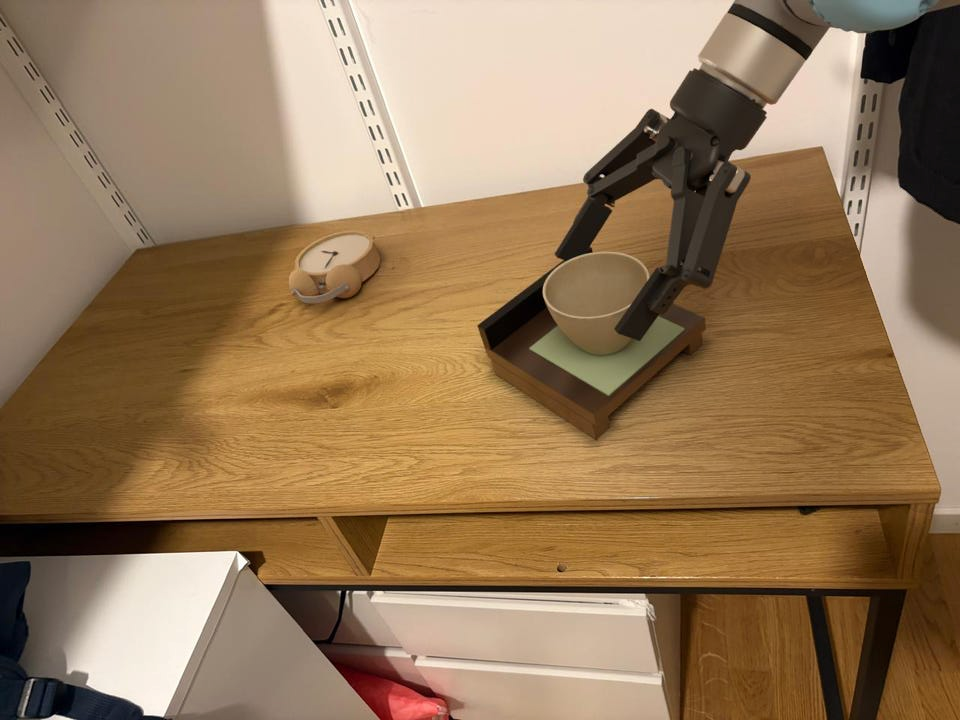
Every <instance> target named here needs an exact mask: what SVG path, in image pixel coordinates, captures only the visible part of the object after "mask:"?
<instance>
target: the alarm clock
mask: <svg viewBox="0 0 960 720" xmlns="http://www.w3.org/2000/svg"><path fill="white" fill-rule="evenodd" d="M375 239H376V236H375V235H371V234H370V233H368V232H367V231H364V230H359V229H356V230H355V229H354V230H353V229H352V230H343V231H337V232H334V233H331V234H328V235H325V236H323V237H321V238H319V239H317V240H315V241H312V242H311V243H310V244H308V245H307V246H306V247H304V248H302V250H301V252H299V254H298V255H297V256H296V258H295V261H294V270H293V271H292V272H291V273H290V275H289V278H288V283H289V284H288V285H289V288H290V290H291V291H290V294H291V296H296V297H297V298H298V299H299V300H300V301H301V302H302V303H304V304H311V305H312V304H320V303H324V302H327V301H330V300H333V299H334V298H336V297H337V298H339V299H349V298H351V297H353V296H355V295H356V294H357V293H358V292H359V291H360V289H361V288H362V283H363V282H365V281H366V280H367V279H369V278H370V277H371V276H372V275H374V274H375V272H376V271H377V270H378V268H379V267H380V264H381V263H380V262H381V257H380V255H379V252H378V250H377V248H376V245H375V241H374V240H375Z"/></svg>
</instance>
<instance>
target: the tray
mask: <svg viewBox="0 0 960 720" xmlns="http://www.w3.org/2000/svg"><path fill="white" fill-rule="evenodd" d="M588 253H594V252H593V248H592V247H591V246H590V247H589V248H588V250H587V252H586V253H585V254H588ZM564 262H566V261H565V260H561V262H559V263H558V264H556V265H555V266H554V267H553V268H551V269H550V270H549V271H547V272H545V274H543V275H542V276H540V277H539V278H538V279H537V280H535V281H534V282H532V283H531V284H530V285H529V286H527V287H526V288H524V290H522V291H521V292H520V293H518V294H516V296H514V297H512V298H511V299H509V301H507V302H506V303H504V305H502V306H501V307H499V308H498V309H497V310H495V311H494V312H493V313H492V314H490V315H489V316H488V317H486V318H485V319H484V320H482V321H481V322H480V323H479V324H476V325H477V329H478V332H479V335H480V338H481V341H482V344H483V347H484V350H485V353H486V356H487V358H489V359H490V361H491V364H492V368H493V370H494V373H495V375H496V376H497V377H499V378H500V379H502V380H504V381H505V382H507V383H508V384H510V385H511V386H513V387H514V388H516V389H517V390H519V391H520V392H522V393H524V394H525V395H527V396H528V397H530V398H531V399H532V400H534V401H536V402H537V403H539V404H541V406H543V407H545V408H546V409H547V410H550V411H551V412H553V414H556V415H557V416H559V417H560V418H562V419H563V420H565V421H566V422H568V423H569V424H571V425H573V426H574V427H575V428H577V429H579V430H580V431H582V433H585V434H587V435H588V436H589V437H591V438H592V439H594V440H598V439H599V438H600V437H601V436H603V435H604V434H605V433H606V432H607V431H608V430H609V429H610V428H611V425H610V419H609V416H610V415H611V414H612V413H613V412H614V411H615V410H616V409H617V408H619V407H620V406H621V405H622V404H623V403H625V402H626V401H627V400H628V399H629V398H630V397H631V396H632V395H633V394H635V393H636V392H637V391H638V390H639V389H640V388H641V387H642V386H644V384H646V383H647V382H648V381H649V380H650V379H651V378H652V377H653V376H655V375H656V374H657V373H658V372H659V371H661V369H663V368H664V367H665V366H666V365H667V364H669V363H670V362H671V361H672V360H673V359H674V358H675V357H676V356H677V355H678V354H680V353H681V352H682V353H685V354H687V356H692V355H693V354H695V352H696V351H697V350H698V349H700V348H701V347H702V346H703V343H704V342H703V332H705V330H706V329H707V328H706V317H705V316H702V315H700V314H698V313H695V312H694V311H691V310H688V309H686V308H684V307H682V306H680V305H677V304H675V303H673V304H672V305H671V306H670V308H669V309H668V311H667V312H665V313H664V314H663V315H662V314H659V316H658V317H657V318H656V320H655V321H654V322H653V324H652V325H651V327H650V328H649V329H648V331H647V332H646V334H645V335H644V336H643V338H642V339H641V341H638V340H635V339H632V338H631V340H630V341H629V342H628V344H627V345H626V346H625V347H624V348H622V349H621V350H619V351H618V352H615V353H613V354H609V355H594V354H590V353H588V352H586V351H584V350H583V349H581V348H580V347H579V346H577V345H576V344H575V343H574V342H572V341H571V340H570V339H569V338H568V337H567V336H566V335H565V333H564V332H563V331H562V330H561V329H560V327H559V326H558V325H557V323H556V322H555V320H554V318H553V317H552V315H551V313H550V311H549V309H548V307H547V305H546V303H545V300H544V297H543V286H544V283H545V281H546V279H547V277H548V276H549V275H550V274H551V272H552V271H553V270H555V269H556V268H557V267H558V266H559V265H561V264H563V263H564Z"/></svg>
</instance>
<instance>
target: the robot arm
mask: <svg viewBox="0 0 960 720" xmlns="http://www.w3.org/2000/svg"><path fill="white" fill-rule="evenodd" d="M959 5H960V0H733V3H732V4H731V5H730V7H729V8H728V10H727V12H726V13H724V15H723V17H722V18H721V20H720V21H719V23H718V24H717V26H716V27H715V29H714V30H713V32H712V33H711V35H710V37H709V38H708V40H707V41H706V43H705V44H704V45H703V48H702V49H701V50H700V52H699V54H698V55H697V59H698V61H699V63H701V65H700V66H699V69H698V68H692V70H691V69H690V70H688V72H687V74H686V75H685V77H684V79H683V80H682V82H681V83H680V85H679V86H678V88H677V89H676V91H675V93H674V95H673V96H672V97H671V99H670V101H669V107H670V109H671V111H672V112H673V114H672V116H671V117H670V118H669V117H667V116H666V115H665V114H663V113H660V112H659V111H658V110H655V109H653V108H650V109H648V110H647V111H646V112H645V114H644V115H643V116H642V118H641V119H640V120H639V122H638V124H636V125H635V127H634V128H633V129H632V130H631V131H630V132H629V133H628V134H627V135H626V136H625V137H624V138H622V139H621V140H620V141H619V142H618V143H617V144H616V145H615V146H614V147H613V148H611V150H609V151H608V152H607V153H606V154H605V155H604V156H603V157H602V158H601V159H599V160H598V161H597V162H596V163H595V164H594V165H592V167H591V168H590V169H588V170H587V172H586V173H584V175H583V179H582V181H583V183H584V184H586V185H587V187H588V189H587V192H586V193H587V194H586V195H587V198H586V199H585V201H584V202H583V204H582V206H581V208H580V209H579V210H578V212H577V213H576V216H575V217H574V218H573V221H572V222H573V223H572V225H571V226H570V228H569V229H568V231H567V233H566V234H565V236H564V238H563V239H562V240H561V242H560V244H559V246H558V247H557V249H556V250H555V252H554V256H555V257H556V258H557V259H559V260H561V261H563V260H565V261H568V260H570V259H572V258H575V257H577V256H581V255H584V254H585V253H586V252H587V250H588V248H589V247H591V245H592V244H593V242H594V240H595V239H596V237H598V234H599V233H600V231H601V230H602V228H603V227H604V225H605V223H606V222H607V221H608V219H609V218H610V216H611V214H612V213H613V210H612V209H611V208H610V207H612V208H615V207H616V201H618V200H620V199H621V198H624V197H626V196H628V195H629V194H631V193H633V192H635V191H636V190H638V189H640V188H642V187H644V186H646V185H647V184H649V183H651V182H653V181H655V180H660V181H661V182H662V184H663V185H664V186H665V187H666V188H667V189H670V197H671V198H672V200H673V205H672V213H671V222H670V229H669V238H668V245H667V251H666V252H667V253H666V261H665V265H664V266H660V267H656V268H655V269H654V271H653V272H652V273H651V275H649V276H650V278H649V279H648V281H647V282H646V284H645V285H644V286H643V288H642V289H641V291H640V292H639V294H638V295H637V297H636V298H635V299H634V301H633V302H632V304H631V305H630V307H629V308H628V309H627V311H626V312H625V314H624V315H623V317H622V318H621V320H620V321H619V322H618V324H617V325H616V327H615V328H614V329H615V331H616V332H617V333H618V334H620V335H623V336H626V337H629V338H632V339H635V340H638V341H641V339H642V338H643V336H644V335H645V334H646V332H647V331H648V329H649V328H650V327H651V325H652V324H653V322H654V321H655V320H656V318H657V317H658V316H659V314H662V315H663V314H664V313H665V312H667V311H668V309H669V308H670V306H671V305H672V304H674V302H675V301H676V300H677V298H678V297H679V296H680V294H681V293H682V291H683V290H684V289H685V288H686V287H687V286H694V287H699V288H701V289H704V290H707V289H708V288H710V287H711V286H712V284H713V280H714V278H715V274H716V272H717V268H718V266H719V262H720V258H721V255H722V251H723V249H724V246H725V244H726V243H725V242H726V241H727V236H728V234H729V230H730V227H731V224H732V220H733V218H734V214H735V211H736V208H737V204H738V201H739V200H740V198H741V196H742V195H743V193H744V191H745V190H746V188H747V186H748V184H749V183H750V182H751V179H752V177H751V174H750V173H749V171H746V170H744V169H743V168H741V167H739V166H737V165H736V164H733V163H731V162H730V161H729V160H730V158H731V156H732V154H733V153H734V152H735V151H743V150H745V149H746V148H747V147H748V145H749V144H750V143H751V141H752V140H753V138H754V137H755V135H756V134H757V133H758V131H759V129H760V128H761V127H762V125H763V124H764V122H765V121H766V119H767V118H768V116H767V114H768V112H767V110H765V109H764V108H765V107H766V105H767V104H768V105H772V106H773V105H776V104H777V103H778V101H779V100H780V99H781V97H782V96H783V94H784V93H785V92H786V90H787V89H788V87H789V86H790V85H791V83H792V82H793V80H794V79H795V77H796V76H797V74H798V73H799V72H800V70H801V68H802V67H803V66H804V64H805V63H806V61H808V59H809V58H810V57H811V56H812V54H813V51H814V50H815V49H816V47H817V46H818V45H819V43H820V42H821V40H822V39H823V38H824V36H825V35H826V33H827V32H828V31H829V29H830V28H831V29H832V28H834V29H839V30H841V31H843V32H846V33H848V32H854V33H856V34H872V33H874V32H877V31H888V30H893V29H897V28H900V27H904V26H906V25H908V24H910V23H912V22H914V21H916V20H918V19H919V18H920V17H921V16H923V15H925V14H926V13H930V12H934V11H938V10H942V9H943V10H944V9H947V8H951V7H954V6H959ZM602 176H603V177H602Z"/></svg>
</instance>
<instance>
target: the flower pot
mask: <svg viewBox="0 0 960 720" xmlns="http://www.w3.org/2000/svg"><path fill="white" fill-rule="evenodd" d="M650 276H651V275H650V272H649V270H648V268H647V267H646V265H645V264H644V263H643V262H642V261H640V259H638V258H636V257H635V256H632V255H630V254H627V253H623V252H619V251H596V252H593V253H588V254H584V255H581V256H577V257H575V258H572V259H570V260H568V261H566V262H564V263H563V264H561V265H559V266H558V267H557V268H556V269H555V270H553V271H552V272H551V274H550V275H549V276H548V277H547V279H546V281H545V283H544V286H543V297H544V300H545V303H546V305H547V307H548V309H549V311H550V313H551V315H552V317H553V318H554V320H555V322H556V323H557V325H558V326H559V327H560V329H561V330H562V331H563V332H564V333H565V335H566V336H567V337H568V338H569V339H570V340H571V341H572V342H574V343H575V344H576V345H577V346H579V347H580V348H581V349H583V350H584V351H586V352H588V353H590V354H594V355H609V354H613V353H615V352H618V351H619V350H621V349H622V348H624V347H625V346H626V345H627V344H628V342H629V341H630V340H631V338H629V337H626V336H623V335H620V334H618V333H617V332H616V331H615V329H614V328H615V327H616V325H617V324H618V322H619V321H620V320H621V318H622V317H623V315H624V314H625V312H626V311H627V309H628V308H629V307H630V305H631V304H632V302H633V301H634V299H635V298H636V297H637V295H638V294H639V292H640V291H641V289H642V288H643V286H644V285H645V284H646V282H647V281H648V279H649V278H650Z"/></svg>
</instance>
